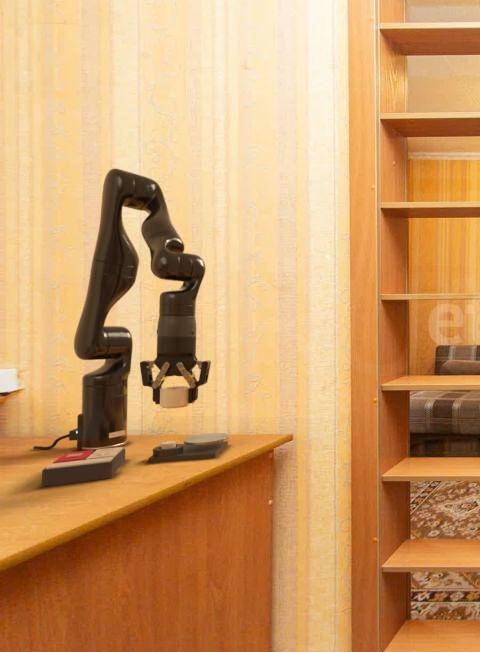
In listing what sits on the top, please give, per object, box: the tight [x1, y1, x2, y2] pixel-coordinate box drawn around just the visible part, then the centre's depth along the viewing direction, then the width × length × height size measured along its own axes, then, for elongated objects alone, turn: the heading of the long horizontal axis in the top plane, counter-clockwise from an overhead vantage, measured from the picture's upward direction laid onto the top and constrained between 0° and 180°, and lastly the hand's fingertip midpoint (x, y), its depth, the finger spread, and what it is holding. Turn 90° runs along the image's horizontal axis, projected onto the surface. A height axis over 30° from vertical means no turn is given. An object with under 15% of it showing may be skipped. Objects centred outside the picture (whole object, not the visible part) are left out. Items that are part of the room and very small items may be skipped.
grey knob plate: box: [148, 440, 229, 464], centre depth 115 cm, size 14×12×3 cm
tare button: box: [160, 440, 177, 449], centre depth 111 cm, size 3×3×2 cm
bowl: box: [158, 385, 192, 410], centre depth 106 cm, size 6×6×4 cm
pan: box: [183, 432, 230, 445], centre depth 118 cm, size 10×10×1 cm
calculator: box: [41, 446, 126, 488], centre depth 100 cm, size 11×4×15 cm
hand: (175, 403), depth 106 cm, fingers closed on bowl, 6 cm apart
